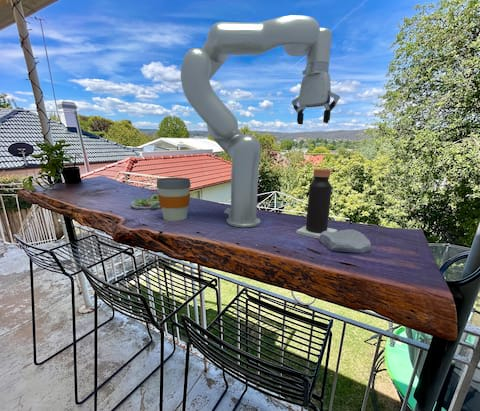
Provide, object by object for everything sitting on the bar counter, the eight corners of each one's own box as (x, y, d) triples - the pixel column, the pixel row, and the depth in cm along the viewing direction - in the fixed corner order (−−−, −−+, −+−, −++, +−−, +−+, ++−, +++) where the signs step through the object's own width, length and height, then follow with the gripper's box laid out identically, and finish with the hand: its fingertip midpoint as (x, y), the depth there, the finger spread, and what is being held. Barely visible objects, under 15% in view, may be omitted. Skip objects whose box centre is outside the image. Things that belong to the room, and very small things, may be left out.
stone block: (372, 258, 67) (353, 239, 76) (377, 244, 65) (356, 225, 74) (332, 261, 65) (316, 241, 74) (335, 247, 63) (319, 227, 72)
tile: (296, 233, 80) (296, 230, 80) (308, 226, 87) (309, 223, 87) (326, 240, 74) (326, 237, 73) (337, 232, 81) (337, 229, 81)
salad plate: (172, 210, 107) (172, 199, 106) (128, 212, 101) (127, 202, 100) (170, 201, 125) (169, 192, 124) (132, 203, 119) (131, 194, 118)
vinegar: (330, 229, 81) (336, 169, 76) (322, 235, 76) (329, 171, 71) (310, 225, 85) (315, 168, 80) (302, 230, 80) (307, 169, 75)
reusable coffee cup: (179, 223, 87) (178, 182, 84) (151, 219, 91) (148, 180, 88) (197, 215, 99) (196, 178, 95) (171, 212, 103) (169, 176, 99)
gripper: (289, 73, 86) (286, 123, 90) (339, 63, 75) (333, 121, 79) (298, 78, 92) (295, 125, 96) (346, 69, 81) (340, 123, 85)
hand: (312, 123), depth 87 cm, fingers open, 9 cm apart
